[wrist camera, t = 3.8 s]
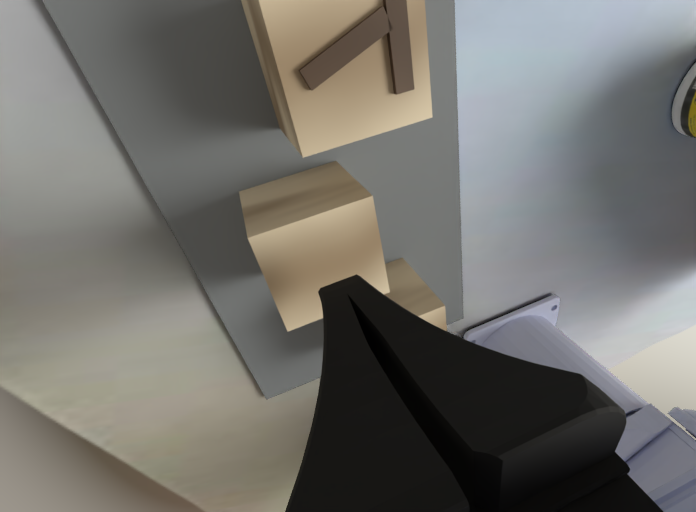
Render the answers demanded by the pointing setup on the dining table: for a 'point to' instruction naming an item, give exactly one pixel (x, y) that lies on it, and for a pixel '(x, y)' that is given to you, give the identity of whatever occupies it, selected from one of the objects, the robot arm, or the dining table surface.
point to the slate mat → (260, 157)
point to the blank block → (312, 237)
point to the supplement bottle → (686, 105)
